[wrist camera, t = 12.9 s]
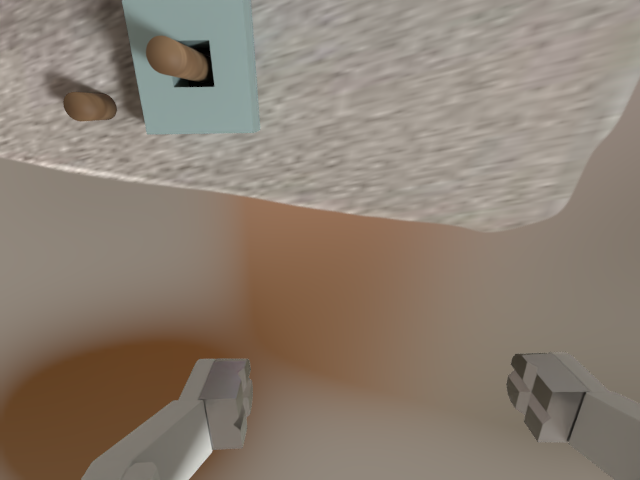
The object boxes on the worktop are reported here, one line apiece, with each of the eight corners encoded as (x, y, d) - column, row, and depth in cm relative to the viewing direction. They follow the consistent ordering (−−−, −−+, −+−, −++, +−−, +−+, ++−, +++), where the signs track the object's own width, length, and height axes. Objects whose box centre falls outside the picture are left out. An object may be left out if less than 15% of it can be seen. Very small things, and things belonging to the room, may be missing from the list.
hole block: (142, -1, 38) (118, -15, 33) (250, -2, 38) (241, -17, 34) (165, 131, 43) (147, 134, 39) (260, 129, 43) (253, 132, 39)
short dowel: (88, 93, 42) (60, 92, 37) (113, 93, 42) (88, 91, 37) (94, 119, 43) (67, 121, 38) (119, 119, 43) (94, 121, 38)
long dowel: (190, 55, 40) (142, 35, 29) (216, 55, 40) (178, 35, 29) (194, 83, 41) (149, 74, 30) (219, 83, 41) (183, 74, 30)
